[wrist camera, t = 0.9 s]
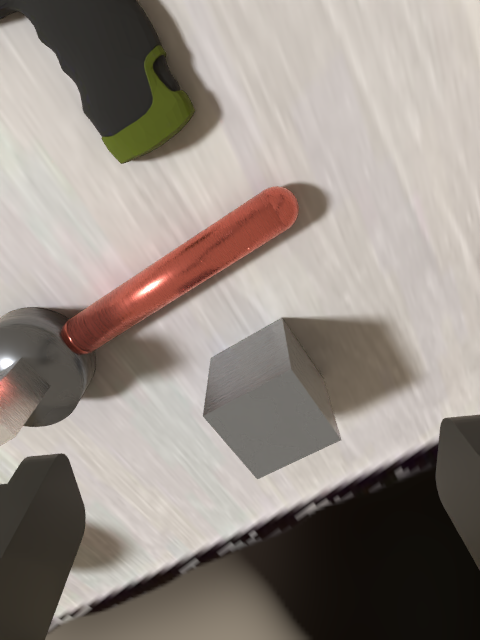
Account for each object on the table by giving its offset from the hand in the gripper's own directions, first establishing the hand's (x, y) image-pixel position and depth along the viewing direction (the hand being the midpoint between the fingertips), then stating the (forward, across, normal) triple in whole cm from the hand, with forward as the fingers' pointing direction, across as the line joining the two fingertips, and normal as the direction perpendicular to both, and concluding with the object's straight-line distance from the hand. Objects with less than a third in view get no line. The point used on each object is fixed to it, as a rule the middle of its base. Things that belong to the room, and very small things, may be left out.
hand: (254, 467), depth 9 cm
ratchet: (+18, +7, +2) cm, 19 cm away
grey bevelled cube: (+18, -1, +8) cm, 20 cm away
